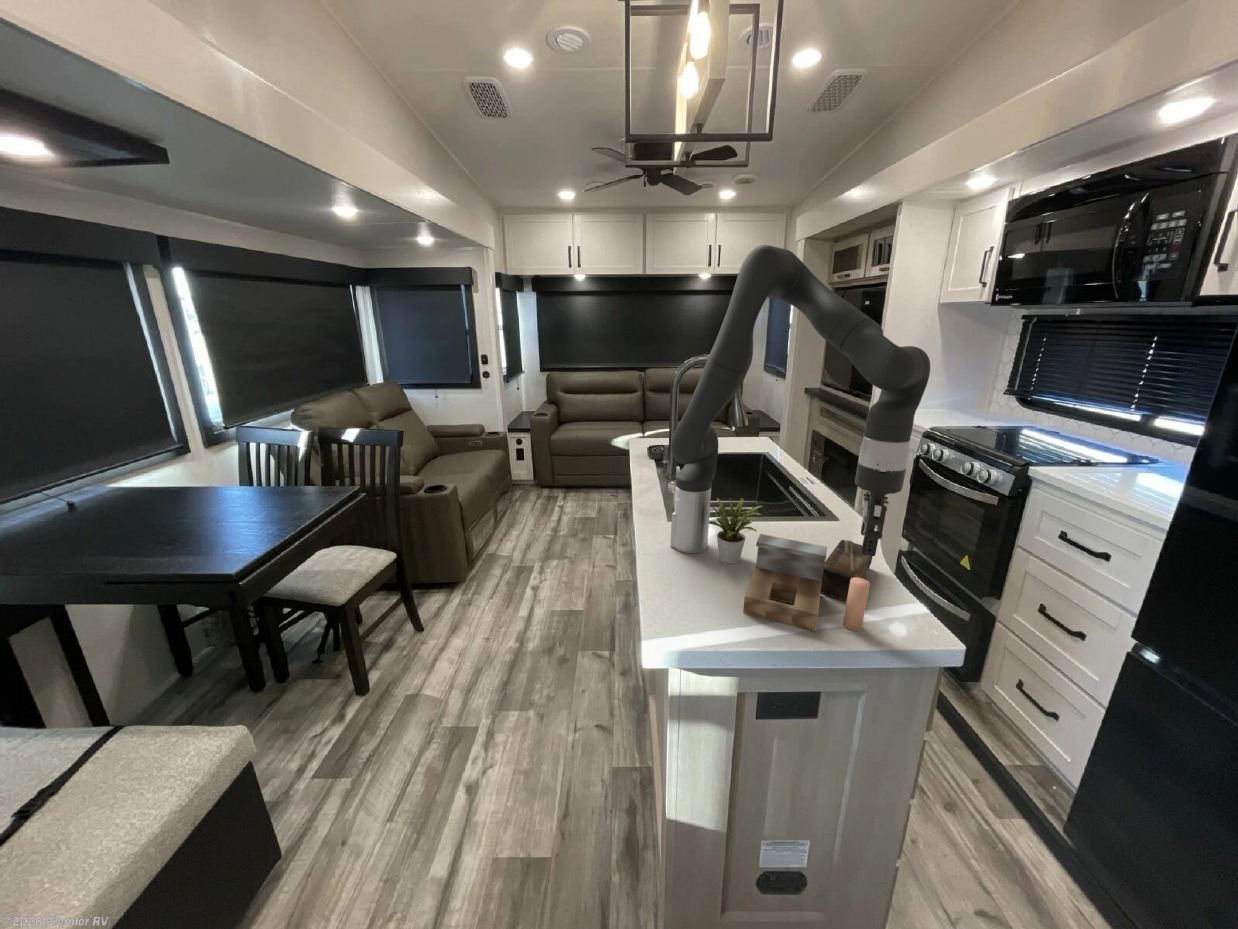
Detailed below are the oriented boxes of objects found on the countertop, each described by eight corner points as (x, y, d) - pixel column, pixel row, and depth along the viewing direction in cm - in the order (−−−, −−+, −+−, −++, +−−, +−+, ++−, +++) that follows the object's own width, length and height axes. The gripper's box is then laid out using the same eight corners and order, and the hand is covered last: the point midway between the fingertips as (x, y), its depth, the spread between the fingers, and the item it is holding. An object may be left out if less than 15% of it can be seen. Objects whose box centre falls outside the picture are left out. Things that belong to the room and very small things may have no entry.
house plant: (762, 578, 107) (769, 515, 102) (703, 572, 110) (707, 510, 105) (757, 550, 120) (763, 492, 115) (704, 545, 123) (708, 488, 118)
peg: (842, 628, 90) (850, 584, 87) (842, 618, 93) (850, 575, 90) (861, 633, 89) (870, 588, 86) (861, 623, 92) (869, 580, 88)
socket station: (742, 612, 95) (748, 561, 91) (755, 579, 107) (760, 533, 103) (815, 632, 89) (823, 578, 85) (819, 595, 101) (827, 546, 97)
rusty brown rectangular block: (871, 569, 112) (876, 545, 110) (853, 606, 97) (858, 579, 95) (837, 559, 116) (841, 536, 114) (814, 592, 102) (818, 567, 100)
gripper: (858, 450, 88) (845, 526, 93) (859, 471, 76) (844, 557, 81) (902, 454, 85) (887, 533, 90) (911, 477, 73) (893, 566, 78)
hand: (867, 544), depth 85 cm, fingers open, 8 cm apart
